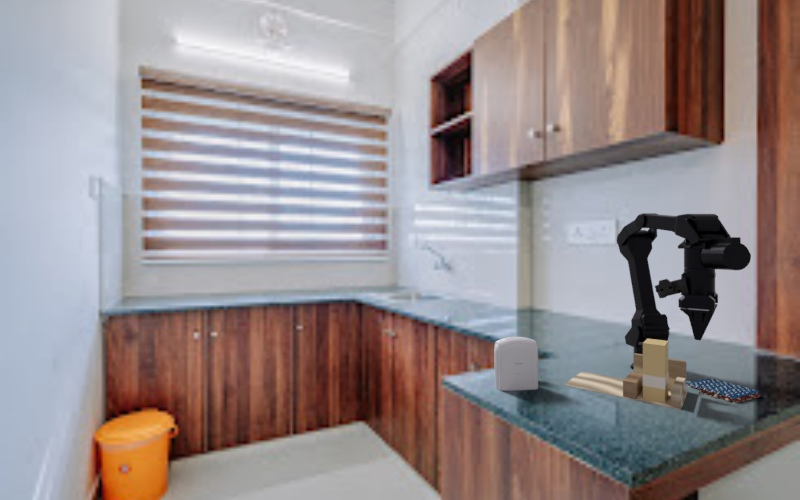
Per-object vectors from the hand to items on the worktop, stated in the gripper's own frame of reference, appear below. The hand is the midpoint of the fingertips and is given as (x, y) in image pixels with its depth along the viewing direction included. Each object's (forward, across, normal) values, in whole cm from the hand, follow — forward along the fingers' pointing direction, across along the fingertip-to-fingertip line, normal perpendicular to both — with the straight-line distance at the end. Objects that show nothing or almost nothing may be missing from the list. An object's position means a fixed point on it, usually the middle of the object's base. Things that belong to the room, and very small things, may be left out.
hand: (699, 336), depth 91 cm
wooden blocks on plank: (+13, +9, -14) cm, 21 cm away
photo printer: (+13, +25, -33) cm, 43 cm away
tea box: (+12, +11, -7) cm, 18 cm away
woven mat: (+14, -4, +4) cm, 15 cm away
